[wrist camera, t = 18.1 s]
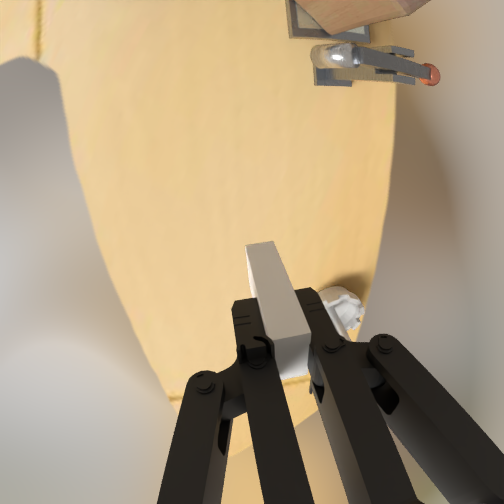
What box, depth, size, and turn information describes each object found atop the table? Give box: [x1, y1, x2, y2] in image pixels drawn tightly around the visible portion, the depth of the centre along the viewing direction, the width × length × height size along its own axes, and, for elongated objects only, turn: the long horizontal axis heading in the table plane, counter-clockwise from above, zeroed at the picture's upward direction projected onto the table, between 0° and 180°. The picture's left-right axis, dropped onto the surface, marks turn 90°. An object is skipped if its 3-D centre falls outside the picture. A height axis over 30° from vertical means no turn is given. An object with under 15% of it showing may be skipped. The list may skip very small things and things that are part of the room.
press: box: [285, 0, 415, 87], centre depth 26 cm, size 22×13×20 cm, turn 5°
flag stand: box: [318, 286, 365, 342], centre depth 52 cm, size 13×13×30 cm
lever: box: [310, 43, 440, 86], centre depth 24 cm, size 3×20×6 cm, turn 95°
